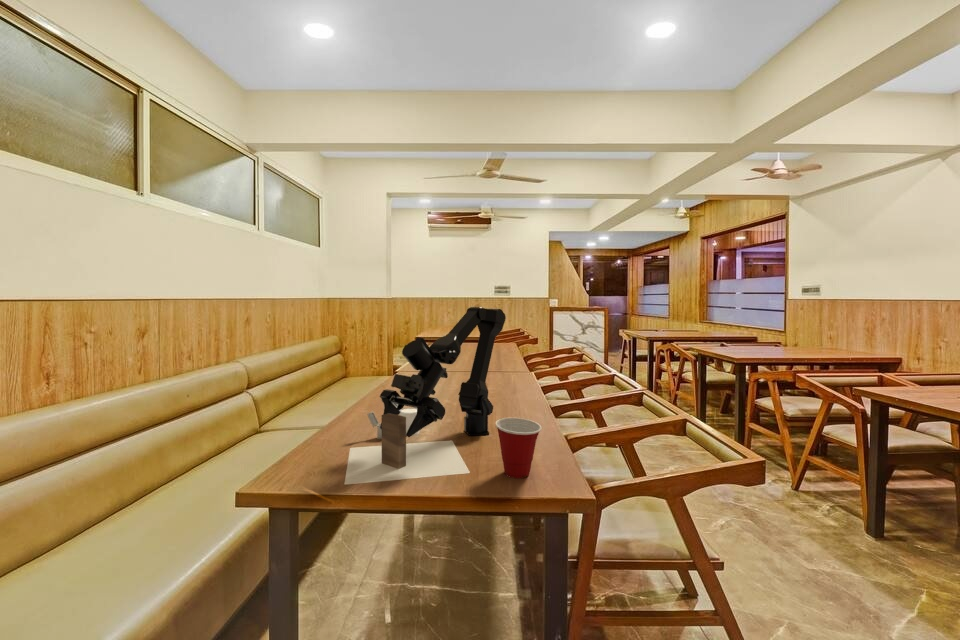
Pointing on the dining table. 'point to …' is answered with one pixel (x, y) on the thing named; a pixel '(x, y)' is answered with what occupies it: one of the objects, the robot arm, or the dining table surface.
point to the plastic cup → (517, 444)
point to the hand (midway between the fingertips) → (394, 432)
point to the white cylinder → (409, 416)
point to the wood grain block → (394, 440)
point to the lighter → (375, 424)
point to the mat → (419, 463)
